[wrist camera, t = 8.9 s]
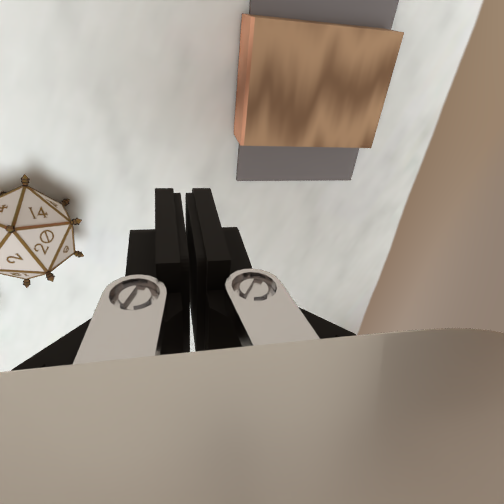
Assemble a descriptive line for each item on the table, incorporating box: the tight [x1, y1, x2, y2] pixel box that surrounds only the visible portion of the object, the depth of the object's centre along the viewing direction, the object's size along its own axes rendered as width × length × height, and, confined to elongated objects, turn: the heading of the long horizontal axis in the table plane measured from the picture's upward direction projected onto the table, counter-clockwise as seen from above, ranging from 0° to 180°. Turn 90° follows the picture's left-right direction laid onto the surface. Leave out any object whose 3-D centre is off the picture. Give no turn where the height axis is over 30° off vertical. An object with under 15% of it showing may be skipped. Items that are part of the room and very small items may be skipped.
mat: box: [236, 0, 399, 181], centre depth 32 cm, size 18×12×1 cm, turn 174°
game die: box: [0, 174, 84, 288], centre depth 30 cm, size 9×8×10 cm
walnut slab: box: [234, 14, 404, 148], centre depth 31 cm, size 9×3×12 cm
